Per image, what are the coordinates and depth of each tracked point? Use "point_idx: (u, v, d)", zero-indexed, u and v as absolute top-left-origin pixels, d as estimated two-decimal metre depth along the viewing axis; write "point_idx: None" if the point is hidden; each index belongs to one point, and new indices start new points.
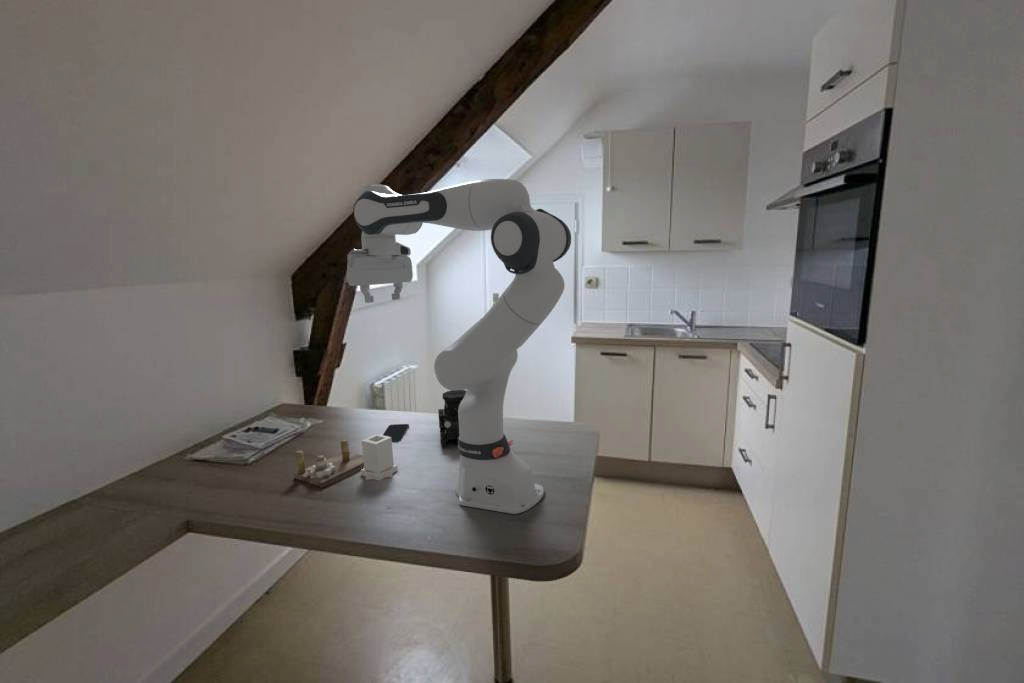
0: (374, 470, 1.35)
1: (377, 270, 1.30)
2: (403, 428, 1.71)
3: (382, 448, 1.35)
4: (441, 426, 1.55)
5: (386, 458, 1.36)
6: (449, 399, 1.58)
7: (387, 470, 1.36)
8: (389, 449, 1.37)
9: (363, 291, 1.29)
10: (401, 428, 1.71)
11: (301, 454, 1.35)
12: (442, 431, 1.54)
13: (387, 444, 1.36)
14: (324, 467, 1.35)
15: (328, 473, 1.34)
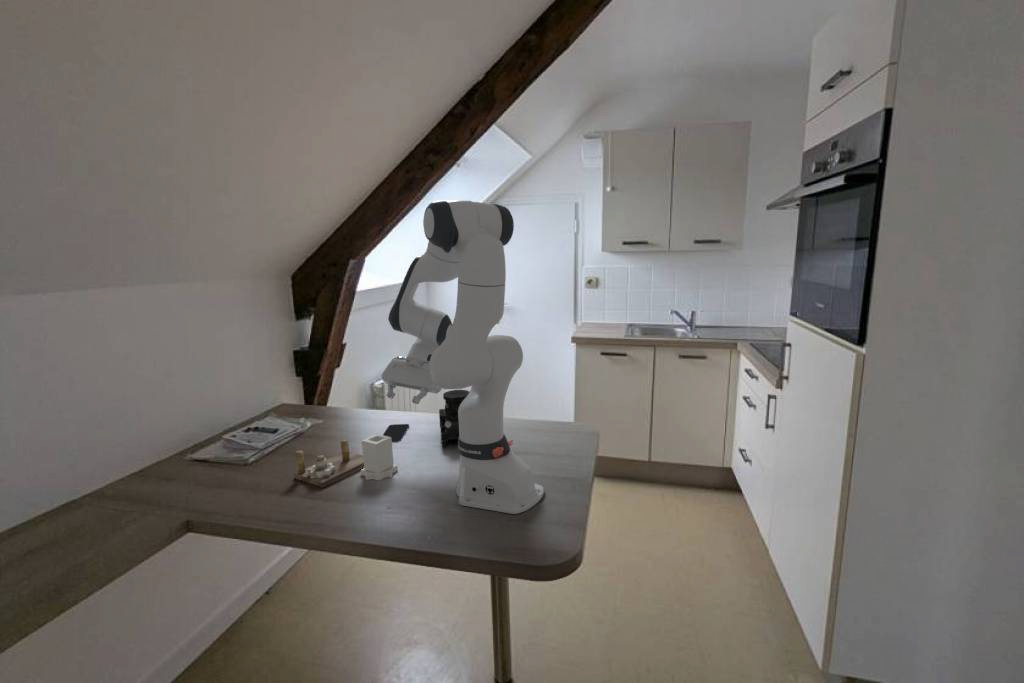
0: (374, 470, 1.35)
1: (403, 371, 1.49)
2: (403, 428, 1.71)
3: (382, 448, 1.35)
4: (442, 426, 1.55)
5: (386, 458, 1.36)
6: (449, 399, 1.58)
7: (387, 470, 1.36)
8: (389, 449, 1.37)
9: None
10: (401, 428, 1.71)
11: (301, 454, 1.35)
12: (443, 431, 1.54)
13: (387, 444, 1.36)
14: (324, 467, 1.35)
15: (328, 473, 1.34)
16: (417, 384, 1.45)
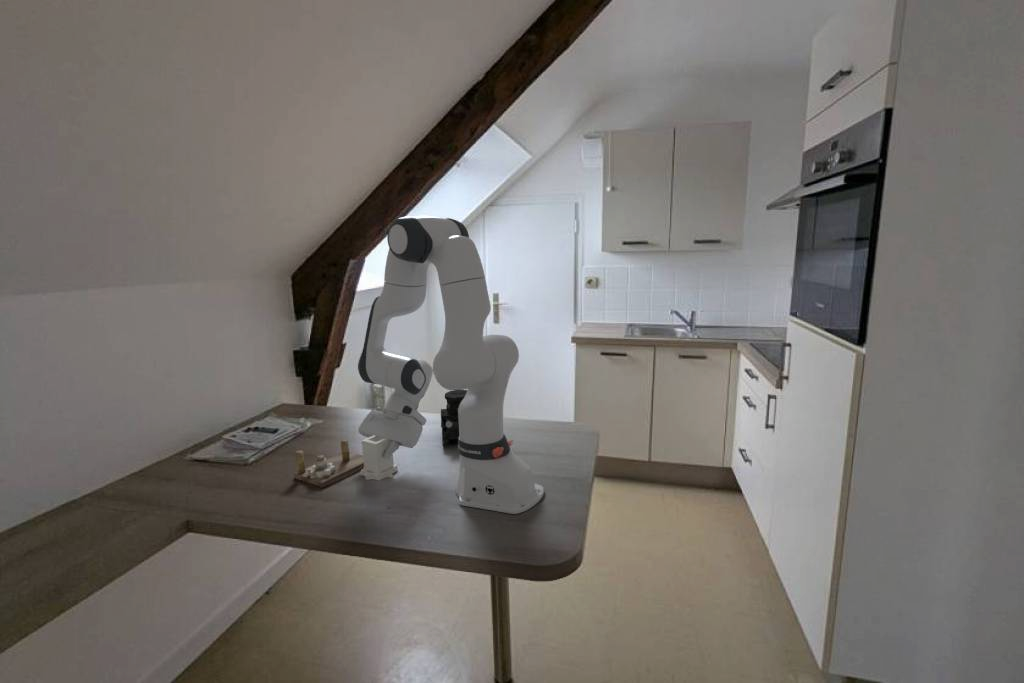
0: (374, 470, 1.35)
1: (379, 424, 1.41)
2: None
3: (382, 448, 1.35)
4: (443, 426, 1.55)
5: None
6: (451, 399, 1.58)
7: (387, 470, 1.36)
8: None
9: None
10: None
11: (301, 454, 1.35)
12: (444, 431, 1.54)
13: (387, 444, 1.36)
14: (324, 467, 1.35)
15: (328, 473, 1.34)
16: (391, 438, 1.36)
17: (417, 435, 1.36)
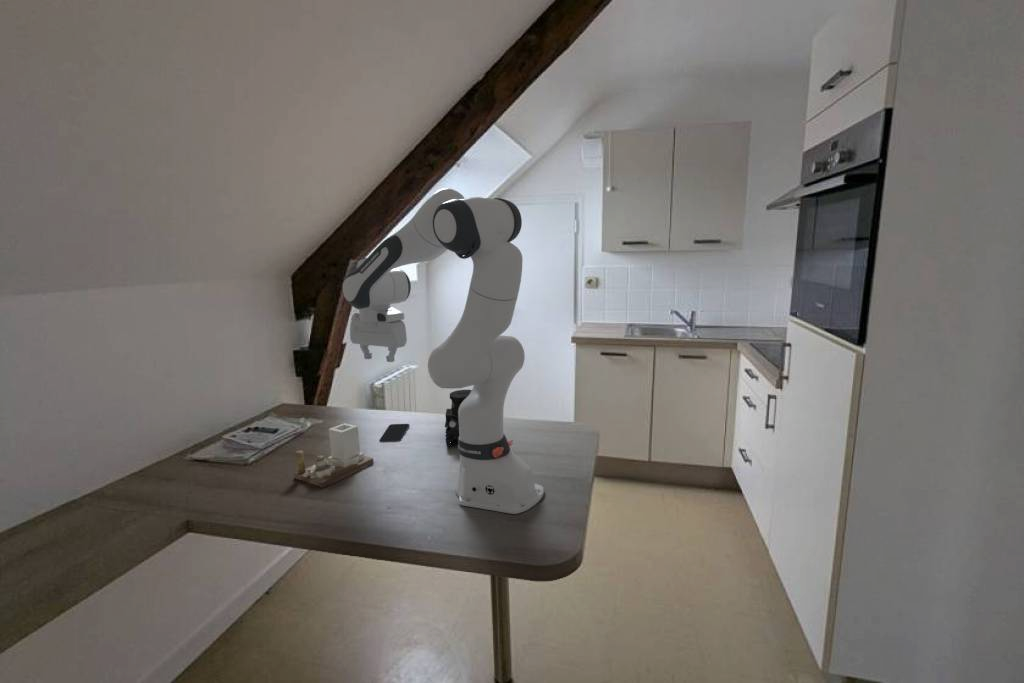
0: (340, 457, 1.40)
1: (365, 333, 1.45)
2: (403, 428, 1.71)
3: (348, 436, 1.40)
4: (447, 426, 1.55)
5: (352, 446, 1.42)
6: (455, 398, 1.58)
7: (353, 457, 1.41)
8: (355, 437, 1.42)
9: None
10: (401, 428, 1.71)
11: (301, 454, 1.35)
12: (447, 431, 1.54)
13: (353, 432, 1.42)
14: (324, 467, 1.35)
15: (328, 473, 1.34)
16: (383, 345, 1.42)
17: (402, 334, 1.40)
